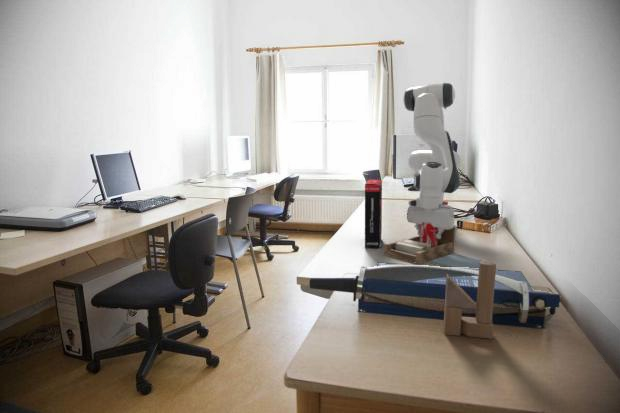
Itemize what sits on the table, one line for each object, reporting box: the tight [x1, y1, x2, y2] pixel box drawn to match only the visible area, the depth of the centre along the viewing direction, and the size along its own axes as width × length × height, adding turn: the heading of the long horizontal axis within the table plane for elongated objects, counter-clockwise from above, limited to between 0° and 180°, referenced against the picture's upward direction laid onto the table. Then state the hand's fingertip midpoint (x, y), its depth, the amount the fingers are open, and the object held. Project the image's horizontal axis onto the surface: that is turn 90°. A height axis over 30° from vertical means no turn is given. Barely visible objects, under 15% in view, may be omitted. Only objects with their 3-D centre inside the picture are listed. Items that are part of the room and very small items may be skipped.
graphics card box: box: [364, 178, 383, 249], centre depth 178 cm, size 17×7×27 cm, turn 168°
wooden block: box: [443, 260, 497, 340], centre depth 98 cm, size 4×11×18 cm, turn 77°
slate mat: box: [430, 252, 484, 268], centre depth 152 cm, size 15×15×1 cm
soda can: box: [420, 222, 438, 248], centre depth 169 cm, size 7×7×12 cm
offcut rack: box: [383, 225, 456, 264], centre depth 165 cm, size 24×16×11 cm, turn 130°
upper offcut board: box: [396, 239, 431, 254], centre depth 163 cm, size 8×11×2 cm
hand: (429, 236), depth 169 cm, fingers closed on soda can, 7 cm apart
